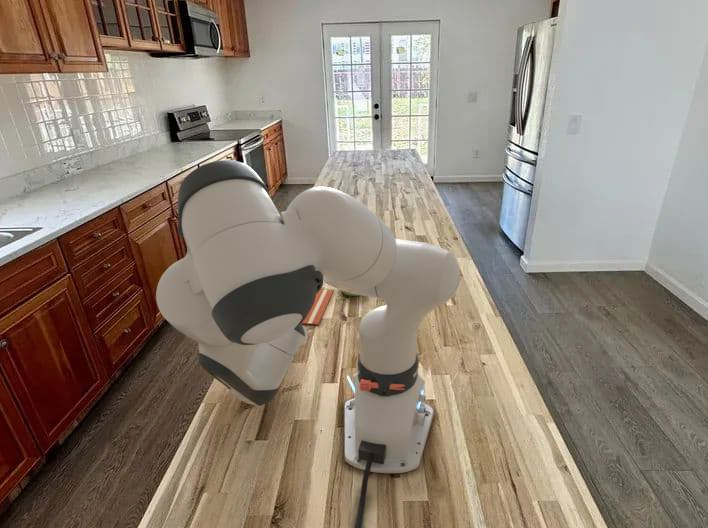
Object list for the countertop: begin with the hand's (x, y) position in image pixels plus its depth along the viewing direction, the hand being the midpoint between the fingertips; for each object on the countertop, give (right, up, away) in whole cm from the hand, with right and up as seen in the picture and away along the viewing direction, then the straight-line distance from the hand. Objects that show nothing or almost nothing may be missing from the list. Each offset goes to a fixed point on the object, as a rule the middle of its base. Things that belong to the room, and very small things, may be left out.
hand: (273, 339), depth 108 cm
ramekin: (+19, +10, +32) cm, 39 cm away
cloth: (+4, +6, +24) cm, 25 cm away
